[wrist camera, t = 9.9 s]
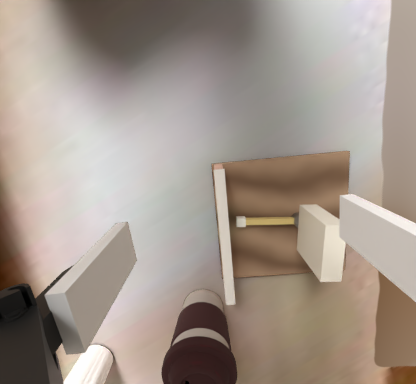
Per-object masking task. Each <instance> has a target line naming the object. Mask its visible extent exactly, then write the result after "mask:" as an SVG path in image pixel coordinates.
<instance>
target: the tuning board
mask: <svg viewBox="0 0 416 384" xmlns="http://www.w3.org/2000/svg"><path fill="white" fill-rule="evenodd" d="M349 158H350V151H340V152H329V153H319V154H308V155H298V156H287V157H277V158H266V159H256V160H245V161H235V162H224V163H214V164H222V166H223V169H224V170H225V182H226V194H227V206H228V218H229V231H230V243H231V255H232V267H233V278H240V277H253V276H266V275H280V274H293V273H307V272H313V271H312V270H311V268H310V267H309V266H308V264H307V263H306V262H305V260H304V259H303V258H302V256H301V255H300V253H299V252H298V251H297V239H298V228H297V227H296V226H295V225H294V224H281V225H246V227H237V226H236V216H245V218H260V217H291V216H292V215H293V214H294V213H297V212H298V213H299V208H300V205H313V204H317V205H318V206H320V207H321V208H323V209H324V210H326V211H327V212H329V213H330V214H332V215H333V216H335V217H336V218H338V219H340V195H348V184H349ZM214 164H212V175H213V186H214V196H215V207H216V218H217V228H218V239H219V249H220V260H221V271H222V279H224V278H223V267H222V256H221V245H220V235H219V224H218V213H217V202H216V191H215V181H214ZM345 259H346V246H345V254H344V263H343V270H345Z"/></svg>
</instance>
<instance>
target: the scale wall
mask: <svg viewBox="0 0 416 384" xmlns="http://www.w3.org/2000/svg"><path fill="white" fill-rule="evenodd" d="M214 181H215V191H216V202H217V213H218V224H219V235H220V245H221V256H222V267H223V278H224V289H225V299H226V305H234V304H235V292H234V279H233V267H232V255H231V243H230V231H229V218H228V206H227V194H226V182H225V170H224V169H223V166H222V164H214Z"/></svg>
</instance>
